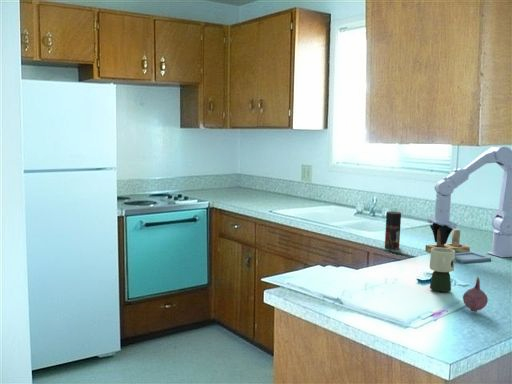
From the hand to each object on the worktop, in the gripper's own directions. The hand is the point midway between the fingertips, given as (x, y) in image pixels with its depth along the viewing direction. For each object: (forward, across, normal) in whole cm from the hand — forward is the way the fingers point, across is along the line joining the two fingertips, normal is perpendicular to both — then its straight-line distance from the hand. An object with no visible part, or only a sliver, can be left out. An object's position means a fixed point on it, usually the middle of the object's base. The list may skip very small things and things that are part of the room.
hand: (440, 242), depth 218 cm
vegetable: (+4, +61, -42) cm, 74 cm away
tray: (+4, +12, +3) cm, 13 cm away
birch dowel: (+4, 0, +8) cm, 9 cm away
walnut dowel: (+3, 0, 0) cm, 3 cm away
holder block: (+4, 0, +4) cm, 6 cm away
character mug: (+4, +42, -37) cm, 56 cm away
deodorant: (+4, -13, -14) cm, 20 cm away
